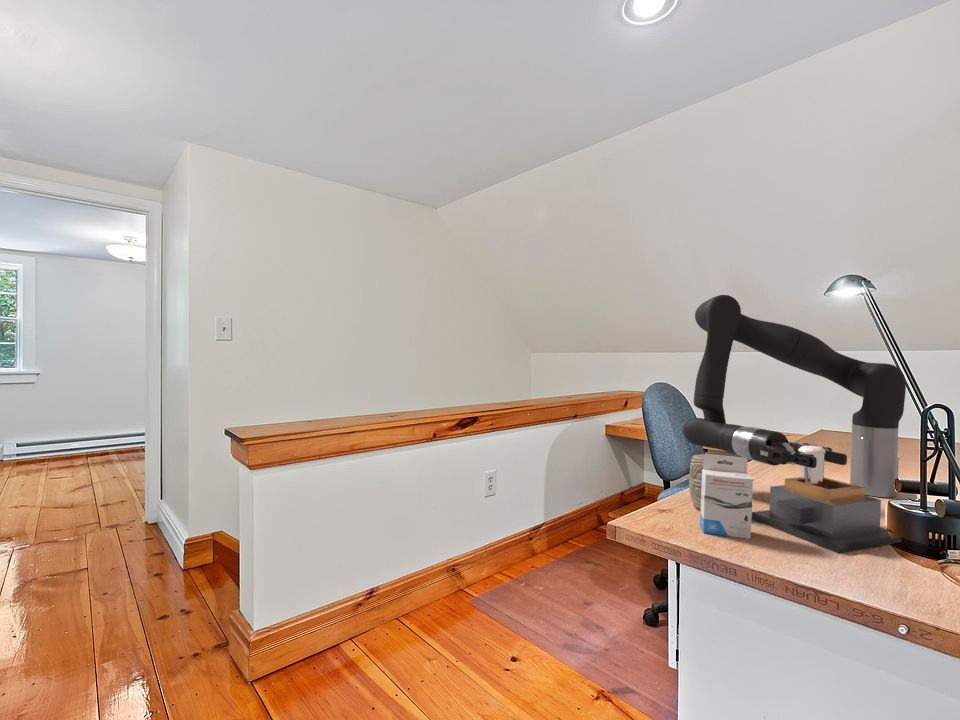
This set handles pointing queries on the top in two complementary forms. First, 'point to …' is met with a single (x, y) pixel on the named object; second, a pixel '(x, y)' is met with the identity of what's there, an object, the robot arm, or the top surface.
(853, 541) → the stepped frame block
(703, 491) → the ink box
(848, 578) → the top surface
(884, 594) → the top surface
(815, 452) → the milkshake
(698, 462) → the carving
